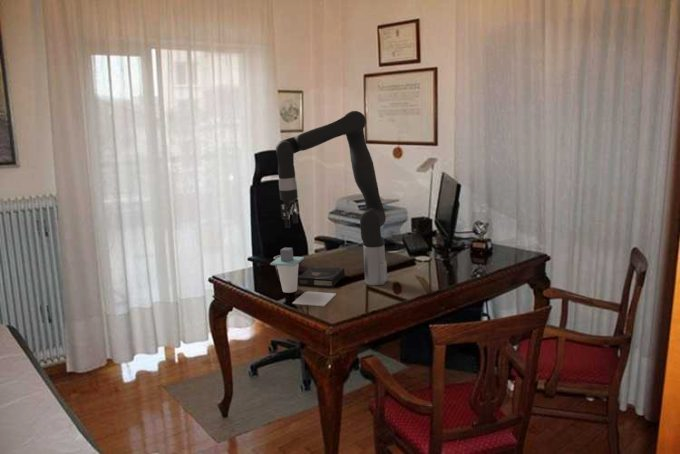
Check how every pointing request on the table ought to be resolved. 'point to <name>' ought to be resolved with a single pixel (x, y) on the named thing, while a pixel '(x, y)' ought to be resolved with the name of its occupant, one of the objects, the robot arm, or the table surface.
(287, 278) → the foam cup
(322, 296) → the tray
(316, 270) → the portable cd player
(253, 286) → the table surface
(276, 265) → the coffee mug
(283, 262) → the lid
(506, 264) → the table surface
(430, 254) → the table surface
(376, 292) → the table surface
